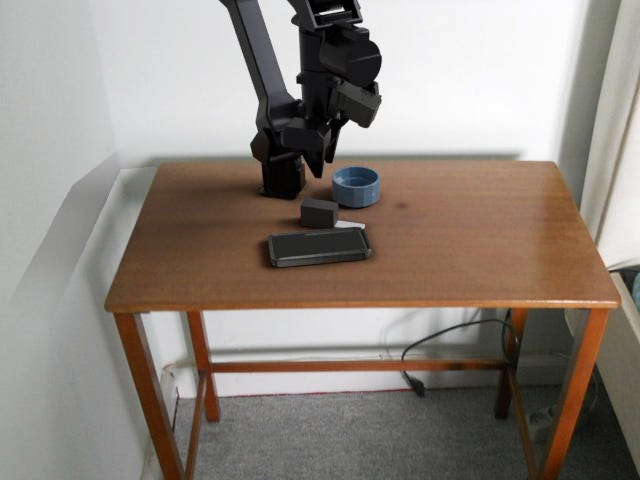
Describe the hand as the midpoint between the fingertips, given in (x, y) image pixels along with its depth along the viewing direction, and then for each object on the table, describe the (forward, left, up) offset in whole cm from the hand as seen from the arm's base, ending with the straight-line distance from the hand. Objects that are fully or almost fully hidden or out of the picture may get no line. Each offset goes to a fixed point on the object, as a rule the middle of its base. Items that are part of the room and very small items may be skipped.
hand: (323, 170), depth 104 cm
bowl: (+3, +9, -9) cm, 13 cm away
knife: (+2, -1, -9) cm, 9 cm away
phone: (+2, -9, -9) cm, 13 cm away
